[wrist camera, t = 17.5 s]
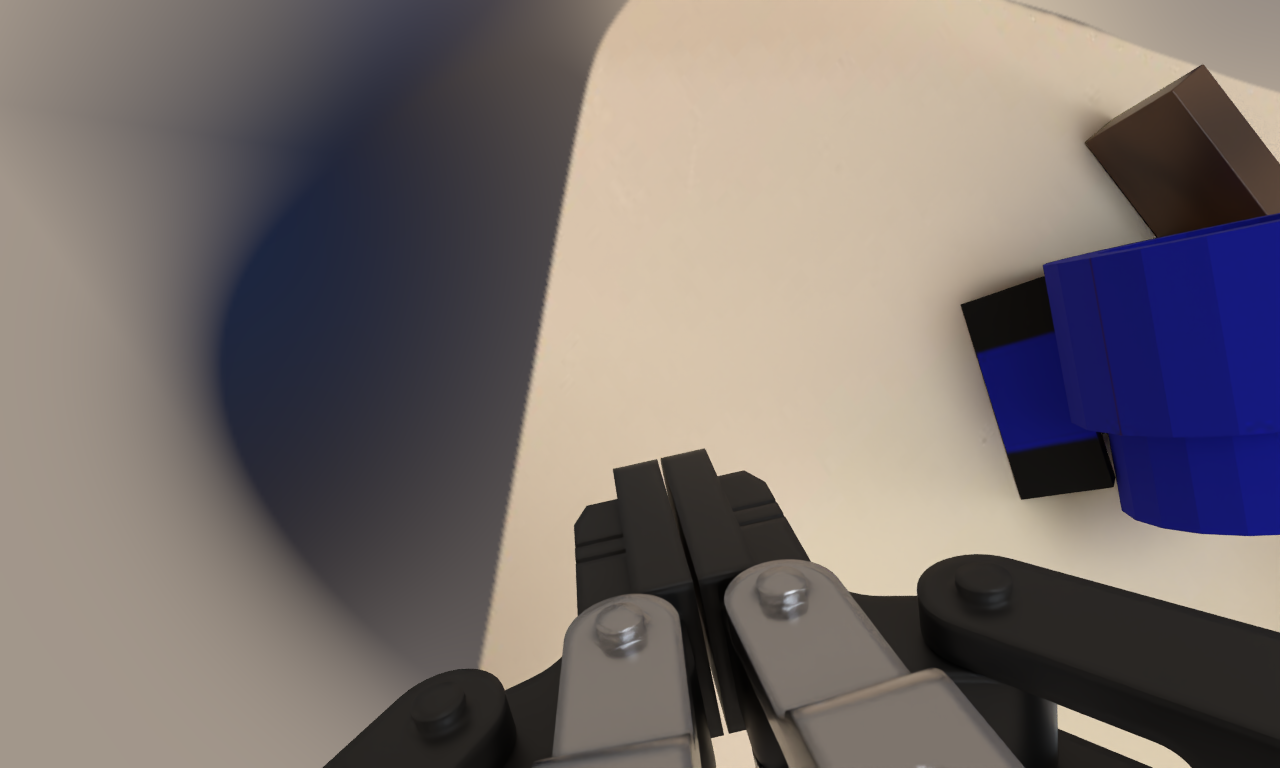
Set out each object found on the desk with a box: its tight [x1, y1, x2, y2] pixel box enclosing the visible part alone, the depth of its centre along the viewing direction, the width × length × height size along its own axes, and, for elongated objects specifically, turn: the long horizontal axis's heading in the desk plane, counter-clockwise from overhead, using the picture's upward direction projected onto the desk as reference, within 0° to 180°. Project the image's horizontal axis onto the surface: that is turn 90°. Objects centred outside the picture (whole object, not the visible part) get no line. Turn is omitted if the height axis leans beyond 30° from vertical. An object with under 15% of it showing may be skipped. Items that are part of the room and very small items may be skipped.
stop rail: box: [1085, 65, 1280, 238], centre depth 37 cm, size 20×2×5 cm, turn 39°
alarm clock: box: [961, 213, 1280, 536], centre depth 29 cm, size 12×12×15 cm
